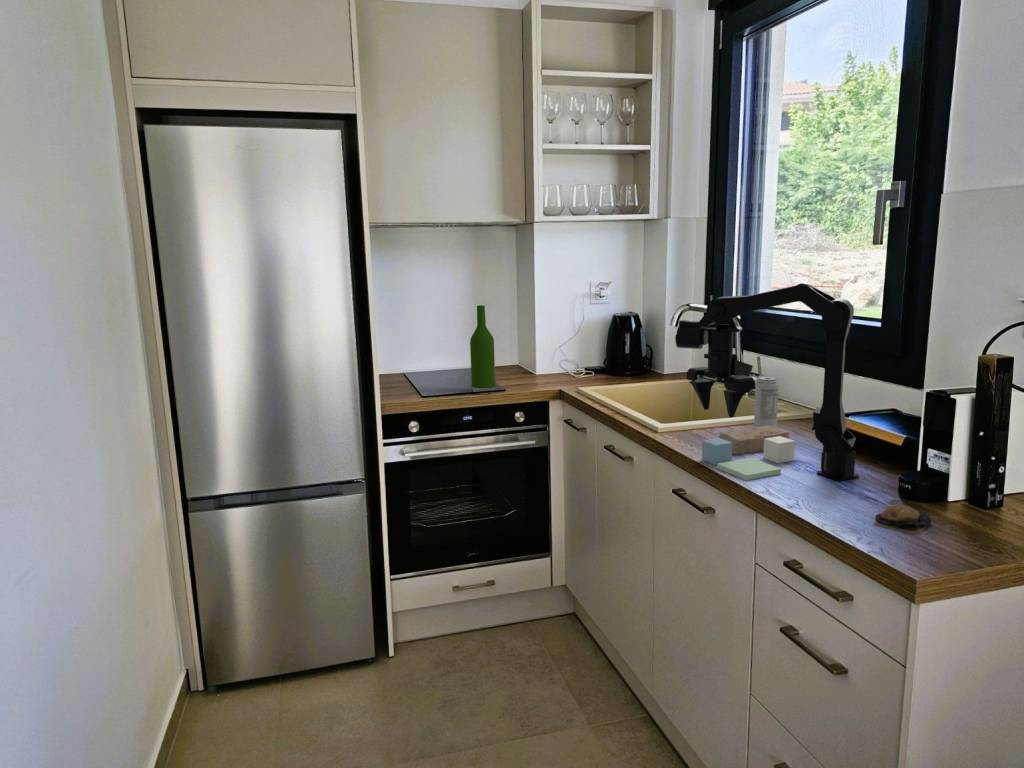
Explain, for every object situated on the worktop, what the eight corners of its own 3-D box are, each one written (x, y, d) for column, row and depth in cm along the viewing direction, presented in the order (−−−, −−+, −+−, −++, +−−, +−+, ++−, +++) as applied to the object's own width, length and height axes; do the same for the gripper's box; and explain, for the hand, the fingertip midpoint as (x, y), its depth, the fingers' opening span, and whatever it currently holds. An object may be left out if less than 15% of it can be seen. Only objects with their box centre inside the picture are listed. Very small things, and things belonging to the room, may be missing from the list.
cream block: (794, 460, 172) (795, 440, 171) (778, 463, 170) (779, 443, 169) (778, 455, 177) (779, 436, 176) (763, 458, 175) (764, 438, 174)
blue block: (731, 462, 172) (732, 442, 171) (715, 465, 170) (715, 445, 169) (718, 457, 177) (718, 437, 176) (702, 459, 175) (702, 440, 174)
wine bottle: (500, 392, 264) (497, 305, 258) (480, 395, 259) (476, 307, 253) (487, 389, 271) (484, 304, 265) (467, 392, 266) (464, 305, 260)
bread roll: (917, 539, 126) (919, 520, 126) (868, 526, 132) (869, 508, 132) (936, 522, 133) (938, 504, 133) (889, 511, 140) (890, 493, 139)
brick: (735, 455, 178) (736, 437, 177) (716, 447, 186) (716, 430, 185) (790, 448, 183) (790, 431, 182) (769, 441, 191) (769, 424, 190)
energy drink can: (772, 426, 204) (774, 375, 201) (779, 432, 198) (781, 379, 195) (751, 427, 204) (752, 376, 201) (757, 432, 198) (759, 380, 195)
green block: (780, 473, 162) (780, 468, 162) (746, 480, 158) (746, 475, 158) (750, 462, 171) (750, 457, 171) (717, 468, 167) (717, 463, 167)
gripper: (775, 351, 163) (772, 417, 166) (721, 343, 180) (720, 402, 183) (736, 355, 159) (734, 423, 162) (685, 346, 176) (684, 407, 179)
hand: (718, 413), depth 171 cm, fingers open, 9 cm apart
